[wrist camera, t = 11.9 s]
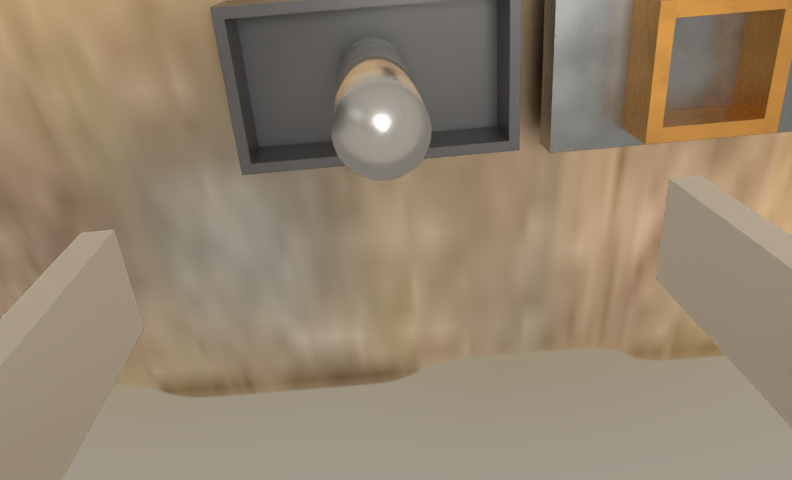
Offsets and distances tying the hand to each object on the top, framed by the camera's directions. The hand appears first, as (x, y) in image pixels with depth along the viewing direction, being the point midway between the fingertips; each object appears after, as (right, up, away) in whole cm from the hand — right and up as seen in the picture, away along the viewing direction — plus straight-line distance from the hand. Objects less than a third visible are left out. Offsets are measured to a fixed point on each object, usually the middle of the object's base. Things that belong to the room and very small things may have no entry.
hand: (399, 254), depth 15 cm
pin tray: (-1, +11, +22) cm, 25 cm away
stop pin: (-1, +10, +21) cm, 24 cm away
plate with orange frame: (+15, +12, +23) cm, 30 cm away
